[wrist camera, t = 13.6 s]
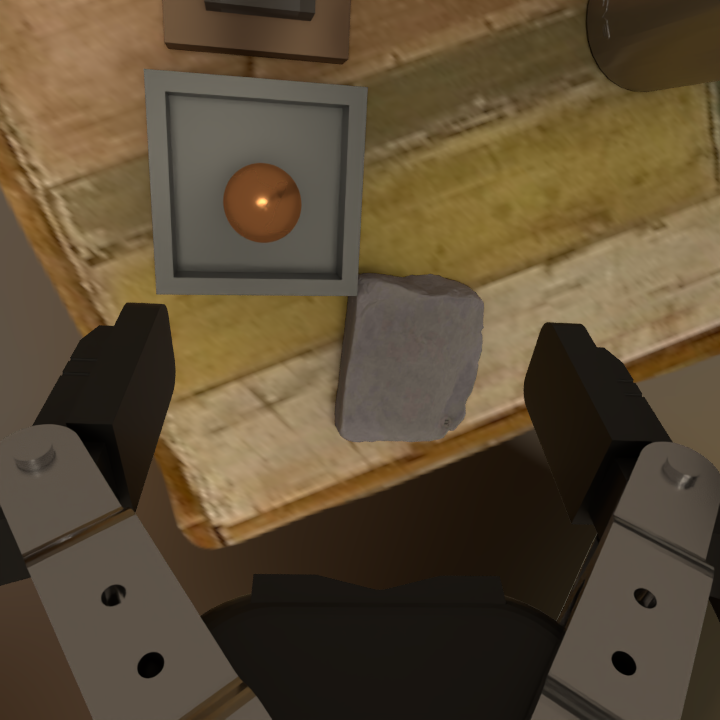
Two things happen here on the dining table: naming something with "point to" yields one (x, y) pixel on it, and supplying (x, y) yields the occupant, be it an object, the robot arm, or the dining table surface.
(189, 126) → the tray
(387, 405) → the stone block
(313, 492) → the dining table surface
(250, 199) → the pin
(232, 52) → the bracket
